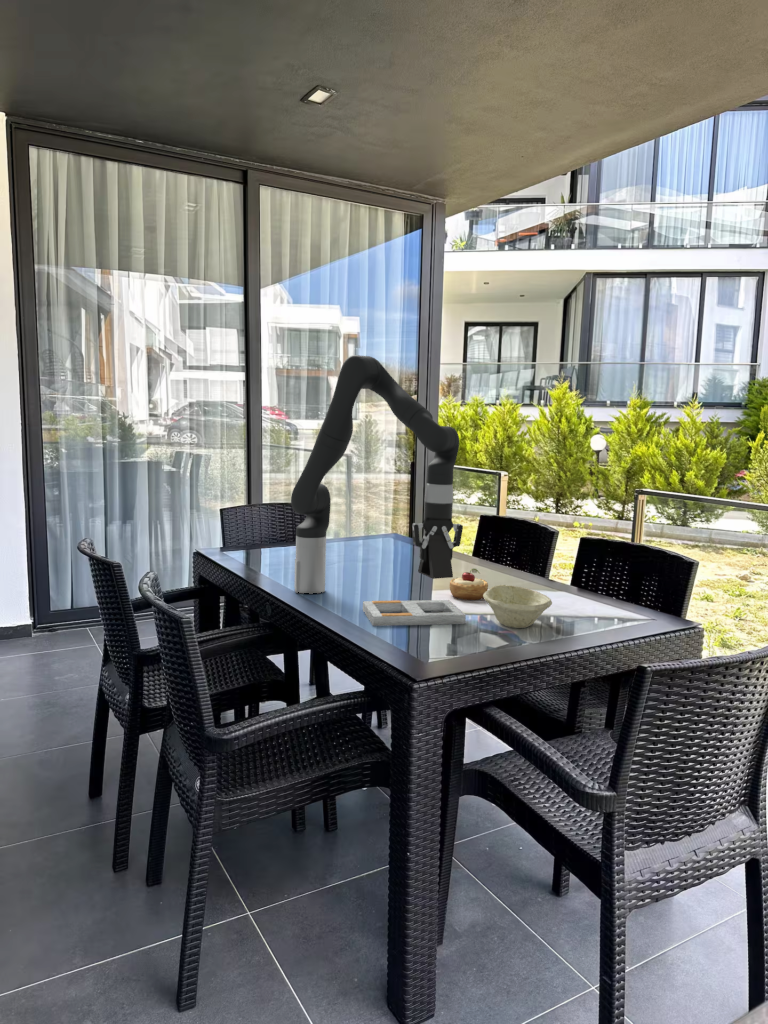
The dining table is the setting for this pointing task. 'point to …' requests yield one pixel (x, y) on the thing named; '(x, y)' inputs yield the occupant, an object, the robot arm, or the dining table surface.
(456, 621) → the white slotted tray
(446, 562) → the phone stand
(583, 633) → the dining table surface
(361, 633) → the dining table surface
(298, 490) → the robot arm
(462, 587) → the pastry
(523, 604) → the bowl
